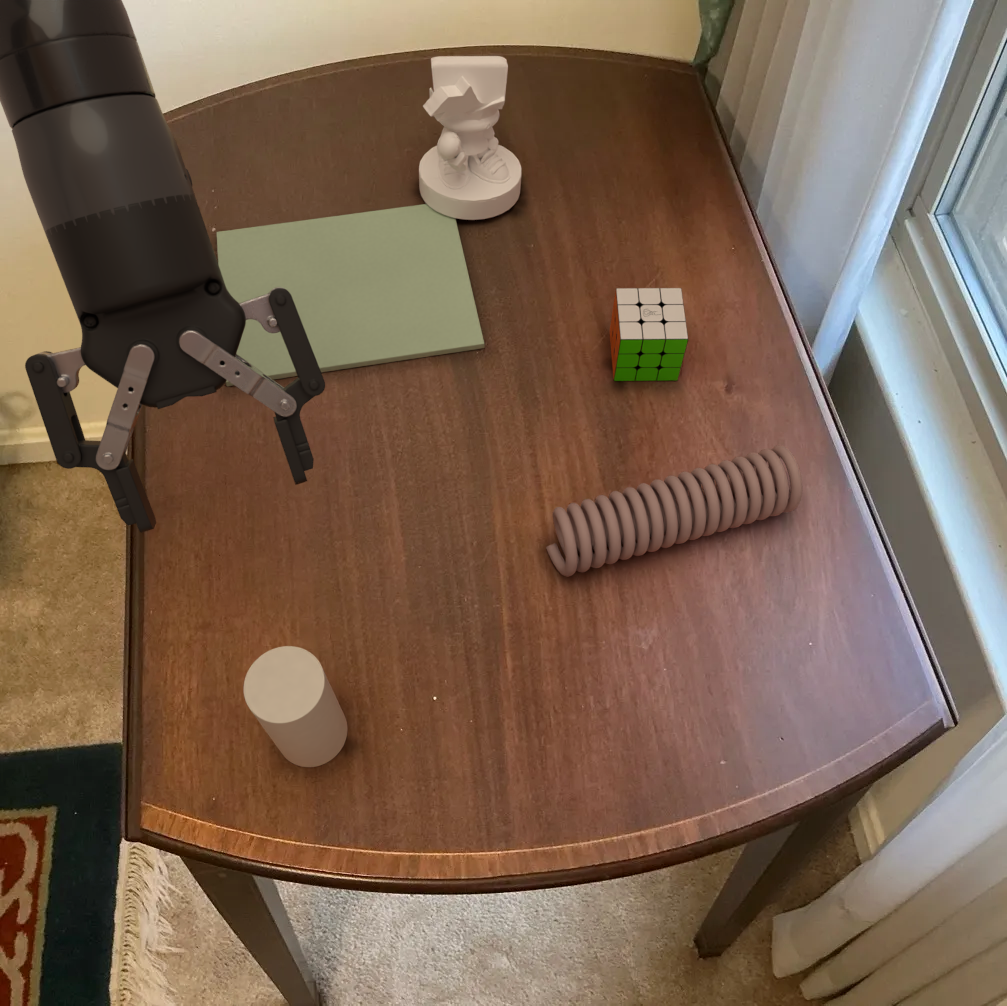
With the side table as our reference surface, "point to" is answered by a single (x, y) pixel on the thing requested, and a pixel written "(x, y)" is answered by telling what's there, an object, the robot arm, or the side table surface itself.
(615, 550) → the coil
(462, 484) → the side table surface
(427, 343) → the mat
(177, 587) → the side table surface
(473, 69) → the character figurine
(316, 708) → the cylinder
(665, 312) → the rubik's cube
